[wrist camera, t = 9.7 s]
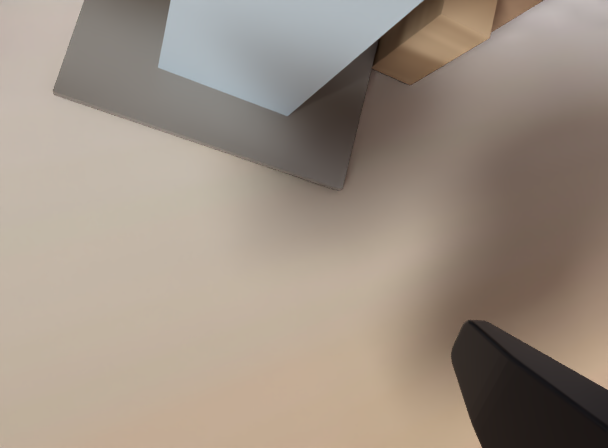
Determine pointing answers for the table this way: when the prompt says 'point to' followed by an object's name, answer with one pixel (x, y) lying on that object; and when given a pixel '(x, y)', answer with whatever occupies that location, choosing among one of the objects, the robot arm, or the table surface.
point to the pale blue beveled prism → (272, 44)
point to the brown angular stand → (245, 115)
